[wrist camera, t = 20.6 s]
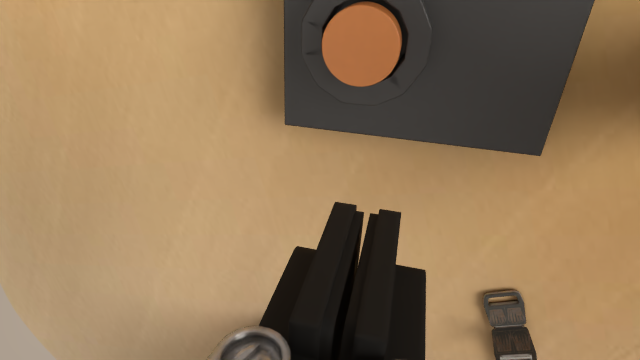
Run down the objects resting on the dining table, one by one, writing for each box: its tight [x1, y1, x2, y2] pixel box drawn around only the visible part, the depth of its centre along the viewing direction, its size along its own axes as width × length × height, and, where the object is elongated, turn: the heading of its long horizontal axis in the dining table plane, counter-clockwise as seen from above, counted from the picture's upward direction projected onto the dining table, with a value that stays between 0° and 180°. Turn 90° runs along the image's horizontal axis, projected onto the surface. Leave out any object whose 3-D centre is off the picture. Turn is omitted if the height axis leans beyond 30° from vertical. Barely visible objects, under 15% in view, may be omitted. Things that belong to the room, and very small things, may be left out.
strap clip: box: [483, 290, 537, 360], centre depth 32 cm, size 8×3×4 cm, turn 20°
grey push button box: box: [284, 0, 594, 156], centre depth 23 cm, size 16×12×4 cm
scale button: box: [322, 2, 402, 87], centre depth 21 cm, size 4×4×2 cm
